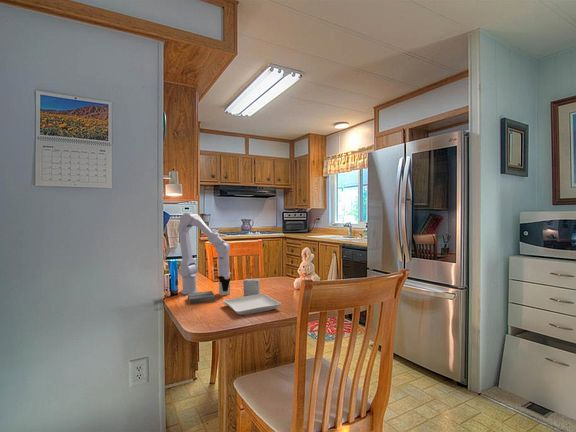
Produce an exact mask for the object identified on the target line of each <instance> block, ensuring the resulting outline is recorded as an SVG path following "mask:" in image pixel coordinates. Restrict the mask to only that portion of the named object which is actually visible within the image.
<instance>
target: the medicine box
mask: <svg viewBox="0 0 576 432" xmlns="http://www.w3.org/2000/svg"><path fill="white" fill-rule="evenodd" d="M260 281H261V280H260V278H245V279H244V280H243V285H242V286H243V297H244V296H251V295H257V294H261V286H260V285H261V282H260Z"/></svg>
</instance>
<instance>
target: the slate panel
mask: <svg viewBox="0 0 576 432" xmlns="http://www.w3.org/2000/svg"><path fill="white" fill-rule="evenodd" d="M187 299H188V302H189V304H190V305H198V304H205V303H206V304H207V303H213V302H216V301H217V300H216V295H215V294H214V292H213V291H212V290H210V291H209V290H208V291H200V292H198V293H190V294H187Z"/></svg>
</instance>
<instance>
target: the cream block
mask: <svg viewBox="0 0 576 432" xmlns="http://www.w3.org/2000/svg"><path fill="white" fill-rule="evenodd" d="M218 295H220V296H227V295H231V283H230V282H229V286H228V291H225V292H223V288H222V283H221V282H219V281H218Z"/></svg>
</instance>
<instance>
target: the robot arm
mask: <svg viewBox="0 0 576 432" xmlns="http://www.w3.org/2000/svg"><path fill="white" fill-rule="evenodd" d="M192 227H198V229H199V230H200V231H201V232H202V233H203V234H205V236H206V237H207V241H208V242H209V243H210V244H211V245H212V246H213V247H214V248H215V251H216V253H217V265H218V266H217V267H218V269H217V270H218V273H217V275H218V276H217V279H218V283H219V282H221V283H222V288H223V292H225V291H228V286H229V283H230V282H231V280H232V278H231V277H229V276H230V275H232V272H231V271H230V257H229V255H230V254H229V253H230V250H231V245H230V244H229V242H225V241H226V240H224V239H223V238H221V236H220V234H219V233H217V232H215V231H212V230H211V229H210V227H208V224H206V222H205V221H204V220H203V219H202V217H201V216H200V215H199V214H198V213H196V212H191V213H188V212H185V213H183V214H182V215H181V216H180V217H179V224H178V227H177V233H178V237H179V245H180V252H181V253H180V254H181V262H180V264H179V266H180V268H179V275H180V276H181V278H182V279H181V281H182V289H181V290H180V292H181V294H182V295H184V296H185V295H188V294H190V293H199V292H198V290H197V273H198V270H199V268H198V267H199V266H198V265H197V263H196V260H195V259H194V258H193V251H192V245H191V237H190V229H191V228H192Z"/></svg>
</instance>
